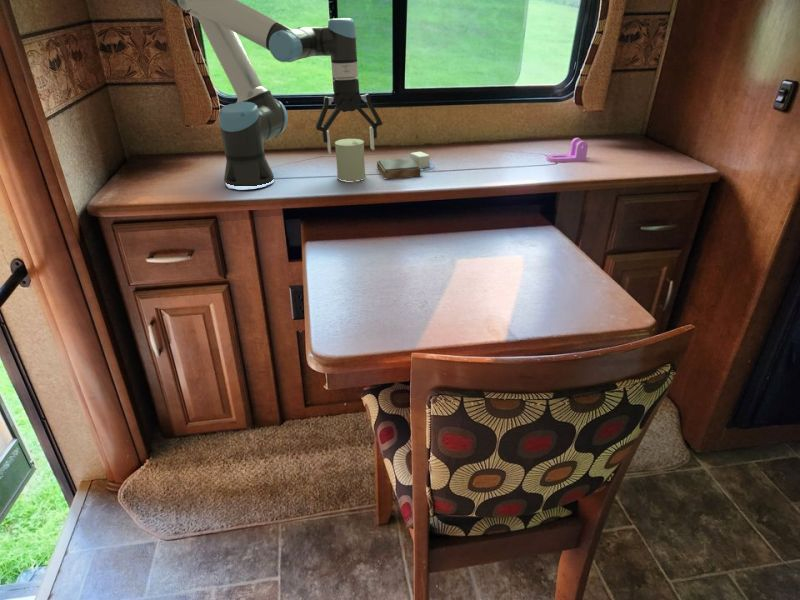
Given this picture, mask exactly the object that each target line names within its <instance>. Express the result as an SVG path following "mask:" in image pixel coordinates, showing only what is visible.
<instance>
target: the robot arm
mask: <svg viewBox="0 0 800 600" xmlns="http://www.w3.org/2000/svg"><path fill="white" fill-rule="evenodd" d="M166 1H167V2H169V3H171V4H172V5H175V6H176V7H179V8H180V9H182V10H184V11H187V12H188V13H189V15H190V16H192V17H194V18H196V19H197V20H198V21H199V24H200V26H201V29H202V30H203V32H204V35H205V36H206V37H207V40H208V42H209V44H210V46H211V47H212V50H213V52H214V53H215V55H216V58H217V60H218V62H219V63H220V66H221V68H222V69H223V71H224V73H225V75H226V78H227V79H228V82H229V83H230V85H231V87H232V89H233V91H234V93H235V95H236V97H237V100H236V102H234V103H229V104H226V105H224V106H222V108H220V109H219V111H218V125H219V127H220V131H221V133H220V134H221V138H222V143H223V147H224V148H223V149H224V154H225V158H226V159H225V160H226V161H225V162H226V163H225V169H224V175H223V176H224V177H223V179H224V180H223V182H224V181H225V182H226V183H227V184H230V185H234V186H257V185H262V184H266V183H269V182H271V181H272V180H273V179H274V180H275V178H274V173H273V171H272V168H271V166H270V165H269V163H268V162H269V161H268V160H267V158H266V153H265V147H264V143H266V142H269V141H270V140H273V139H275V138H278V136H280V135H281V134H283V133H284V132H285V130H286V128H287V127H288V126H287V125H288V122H289V116H288V111H287V109H286V107H285V105H284V104H283V103H282V102H281V101H280V100H278V99H277V98H274V96H273V94H272V91H271V90H270V89H269V88H267V87H264V86H263V85H262V82H261V81H260V78H259V76H258V75H257V73H256V70H255V68H254V66H253V64H252V62H251V60H250V58H249V56H248V54H247V51H246V50H245V47H244V46H243V43H242V41H241V39H240V37H239V35H240V36H242V37H243V38H244V39H247V40H248V41H251V42H253V43H254V44H256V45H258V46H259V47H260V46H261V47H262V48H263V49H265V50H267V51H269V52H270V53H271V55H272V57H273V58H274V59H275V60H277V62H281V63H292V62H295V61H298V60H301V59H307V58H311V57H322V56H323V57H324V56H325V57H329V56H330V59H331V62H330V63H331V73H332V74H331V75H332V77H333V78H334V79H333V80H332V82H333V83H332V84H333V97H330V96H329V97H328V96H326V95H325V96H324V97H323V104H322V105H323V106H322V107H321V110H320V113H319V117H318V119H317V122H316V125H315V129H316V130H317V131H320V132H322V140H323V143H325V144H326V145H327V153H328V154H329V155H331V154H332V146H331V136H330V131H329V128H330V127H331V125H332V124H333V122H334V121H335V119H336V118H337V116H338V115H339V114H340V113H341V112H343V113H347V112H354V111H358V113H360V115H362V117H363V118H364V119H365V120H366V121H367V122H368V123H369V124H370V125H371V126H369V127H368V128H369V142H370V143H369V144H370V149H371V151H375V139H377V137H378V133H377V132H378V131H377V130H378V129H377V128H378V127H379V126H382V125H383V121H382V120H381V118H380V116H379V114H378V112H377V110H376V109H375V107H374V105H373V103H372V99H371V95H370V94H369V93H365V94H362V95H361V94H360V82H359V79H358V76H359V70H358V69H359V68H358V58H357V57H358V55H357V54H358V53H357V36H356V27H355V22H354V19H352V18H350V17H347V18H346V17H343V18H329V19H328V20H327V26H297V27H293V28H290V27H288V26H286V25H284V24H282V23H280V22H279V21H277V20H275V19H273V18H272V17H269V16H267V15H266V14H263V13H262V12H260V11H258V10H257V9H254V8H252V7H251V6H248V5H246V4H245V3H243V2H241V1H239V0H166ZM361 101H363V102H364V103H365V104H367V107H368V108H369V111H370V113H371V114H372V115H373V116H372V117H373V118H374V119H375V121H373V119H371V117H370V116H369V115H368V114H367V113H366V112H365V111H364V110H363V108H362V107H361V106H360V103H361ZM332 103H334V104H335V105H336V106H335V107H334V109H333V111H332V112H331V114H330V115H329V116H328V118H327V120H326V121H325V118H326V115H327V112H328V111H329V110H328V109H329V107H330V105H332ZM225 182H224V183H225Z"/></svg>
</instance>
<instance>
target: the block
mask: <svg viewBox="0 0 800 600" xmlns="http://www.w3.org/2000/svg"><path fill="white" fill-rule="evenodd" d="M409 156H410V157H409V158H411V159H412V160H413V161H414V162H415V163H416V164H417V165H418V166H419V168H420V169H425V168H430V159H431V158H430V155H429V154H428V153H425V152H423V151H415V152H410V155H409Z"/></svg>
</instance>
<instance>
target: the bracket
mask: <svg viewBox="0 0 800 600" xmlns="http://www.w3.org/2000/svg"><path fill="white" fill-rule="evenodd" d="M588 147H589V144H588V142H587V141H584V140H582V139H581V138H580V137H574V138H573V139H572V140H571V142H570V147H569V153H559V154H547V155H546V159H545V160H546V161H547V162H550V163H555V164H556V163H574V162H575V163H577V162H586V160H587V156H588V155H587V154H588V149H589V148H588Z"/></svg>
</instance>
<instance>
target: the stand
mask: <svg viewBox="0 0 800 600" xmlns="http://www.w3.org/2000/svg"><path fill="white" fill-rule="evenodd" d="M376 168H378V169H377V171H378V170H379V171H380V172H379V171H378V172H379V174H380V173H381V174H382V175H381V174H380V175H381V176H383V177H384V178H393V179H400V178H399V177H405V178H415V176H416V177H421V169H422V168H419V166H418V165H417V164H416V163H415V162H414V161H413V160H412V159H411V158H410V157H403V158H401V157H400V158H389V159H387V158H386V159H379V160H377V161H376ZM383 177H382V178H383ZM384 178H383V179H384Z"/></svg>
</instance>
